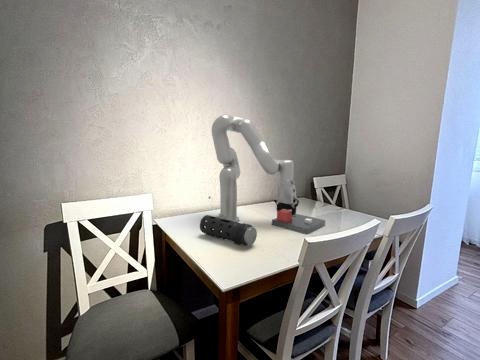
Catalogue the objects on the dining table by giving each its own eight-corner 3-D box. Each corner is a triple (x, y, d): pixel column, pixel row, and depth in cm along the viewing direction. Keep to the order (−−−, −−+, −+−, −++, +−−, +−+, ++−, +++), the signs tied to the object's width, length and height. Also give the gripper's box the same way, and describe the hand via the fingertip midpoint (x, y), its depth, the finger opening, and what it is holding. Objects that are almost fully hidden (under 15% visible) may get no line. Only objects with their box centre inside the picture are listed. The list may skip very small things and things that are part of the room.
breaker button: (309, 227, 157) (309, 220, 156) (304, 226, 159) (304, 219, 158) (312, 226, 159) (312, 219, 158) (307, 225, 161) (307, 218, 160)
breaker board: (307, 234, 148) (307, 226, 147) (271, 224, 163) (272, 217, 162) (325, 225, 163) (325, 218, 162) (291, 217, 177) (291, 210, 177)
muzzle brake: (212, 232, 150) (212, 212, 148) (257, 245, 134) (258, 223, 132) (199, 237, 143) (199, 216, 141) (245, 251, 126) (245, 228, 124)
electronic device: (294, 209, 195) (295, 195, 193) (279, 209, 195) (280, 194, 193) (293, 208, 199) (294, 193, 197) (278, 207, 199) (279, 193, 197)
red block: (286, 222, 158) (286, 213, 157) (276, 219, 162) (277, 210, 161) (292, 219, 163) (292, 210, 162) (283, 217, 167) (283, 208, 166)
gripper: (304, 183, 156) (303, 214, 159) (277, 180, 168) (277, 209, 170) (296, 185, 151) (296, 217, 153) (269, 182, 162) (269, 211, 165)
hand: (286, 213), depth 162 cm, fingers open, 9 cm apart
